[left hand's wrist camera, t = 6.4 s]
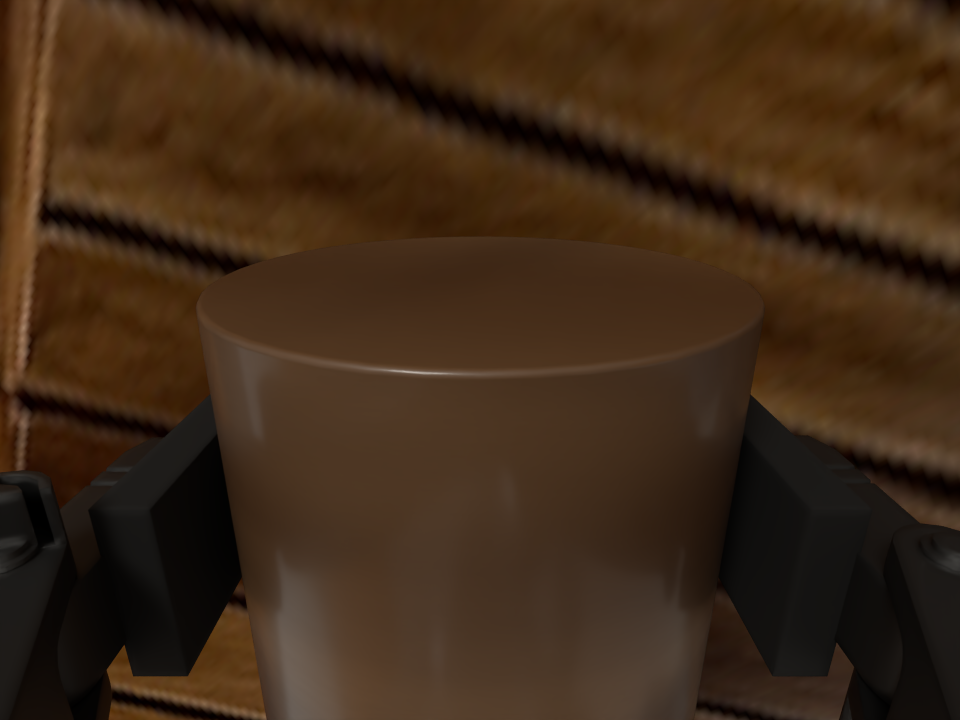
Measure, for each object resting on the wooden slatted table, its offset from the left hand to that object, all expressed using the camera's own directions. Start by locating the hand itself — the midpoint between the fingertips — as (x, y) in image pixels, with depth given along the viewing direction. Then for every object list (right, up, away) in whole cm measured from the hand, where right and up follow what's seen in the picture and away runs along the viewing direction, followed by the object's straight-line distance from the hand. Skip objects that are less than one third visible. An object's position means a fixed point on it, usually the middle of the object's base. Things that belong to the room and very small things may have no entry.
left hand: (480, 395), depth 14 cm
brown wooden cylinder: (0, -7, +3) cm, 8 cm away
